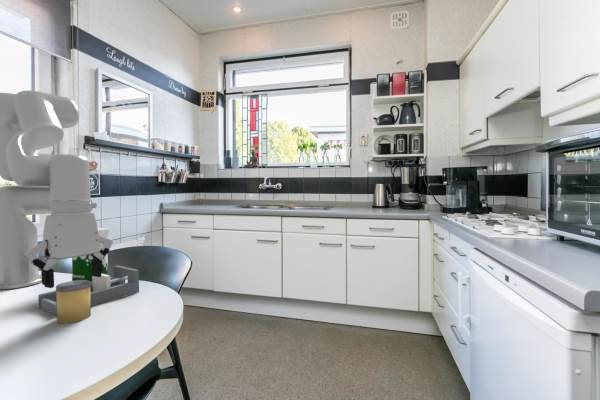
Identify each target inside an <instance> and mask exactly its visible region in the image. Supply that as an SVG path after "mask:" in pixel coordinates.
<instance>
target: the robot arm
mask: <svg viewBox="0 0 600 400" xmlns="http://www.w3.org/2000/svg"><path fill="white" fill-rule="evenodd" d="M79 120H80V110H79V107H78V105H77V103H76V102H75V101H74V100H73V99H71V98H69V97H66V96H61V95H57V94H52V93H47V92H42V91H35V90H21V91H19V92H17V93H9V92H0V177H1V179H2V180H5V181H9V182H14V183H15V184H16V185H6V186H1V187H0V290H13V289H17V288H18V289H19V288H24V287H30V286H33V285H37V284H39V283H41V284H42V285H43V286H44V288H48V289H53V288H54V287H55V273H54V272H55V271H54V269H52V267H53V266H54V265H55V263H56V262H57V261H58V260H66V259H67V260H68V259H72V258H73V257H79V256H85V255H90V256H92V257H93V259H94V260H92V261H91V267H92V276H95V277H101V272H102V260H104V257H105V256H106V255H107V253H110V249H111V247H112V246H113V239H112V240H111V239H109V238H108V239H106V238H103V237H100V236H99V233H98V228H99V227H98V222H97V219H96V216H95V213H94V212H92V211H93V209H96V208H97V206H98V205H97V204H98V203H97V202H93V201H92V199H91V198H92V197H91V173H90V171H91V170H90V161H89V158H87V156H83V155H78V154H70V153H69V154H67V153H65V154H64V153H63V154H61V153H60V154H51V153H40V152H36V151H38V150H42V149H46V148H49V147H50V148H51V147H54V146H56V145H57V144H59V143H60V142H61V141H62V140H63V138H64V136H65V134H64V133H65V132H64V129H70V128H73V127H75V126H76V125H77V124H78V123H79ZM32 215H35V216H36V215H46V216H45V219H44V223H43V224H44V225H43V230H42V231H43V232H42V242H41V243H38V229H37V226H36V225H35V223H34V222H33V221H31V220H30V219H29V218H28V217H27V216H32ZM99 242H100V243H103V244H104V246H103V248H102V249H101V250H100V251H99ZM40 252H42V256H43V260H41V259H39V253H40ZM39 270H40V273H41V274H39Z"/></svg>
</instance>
